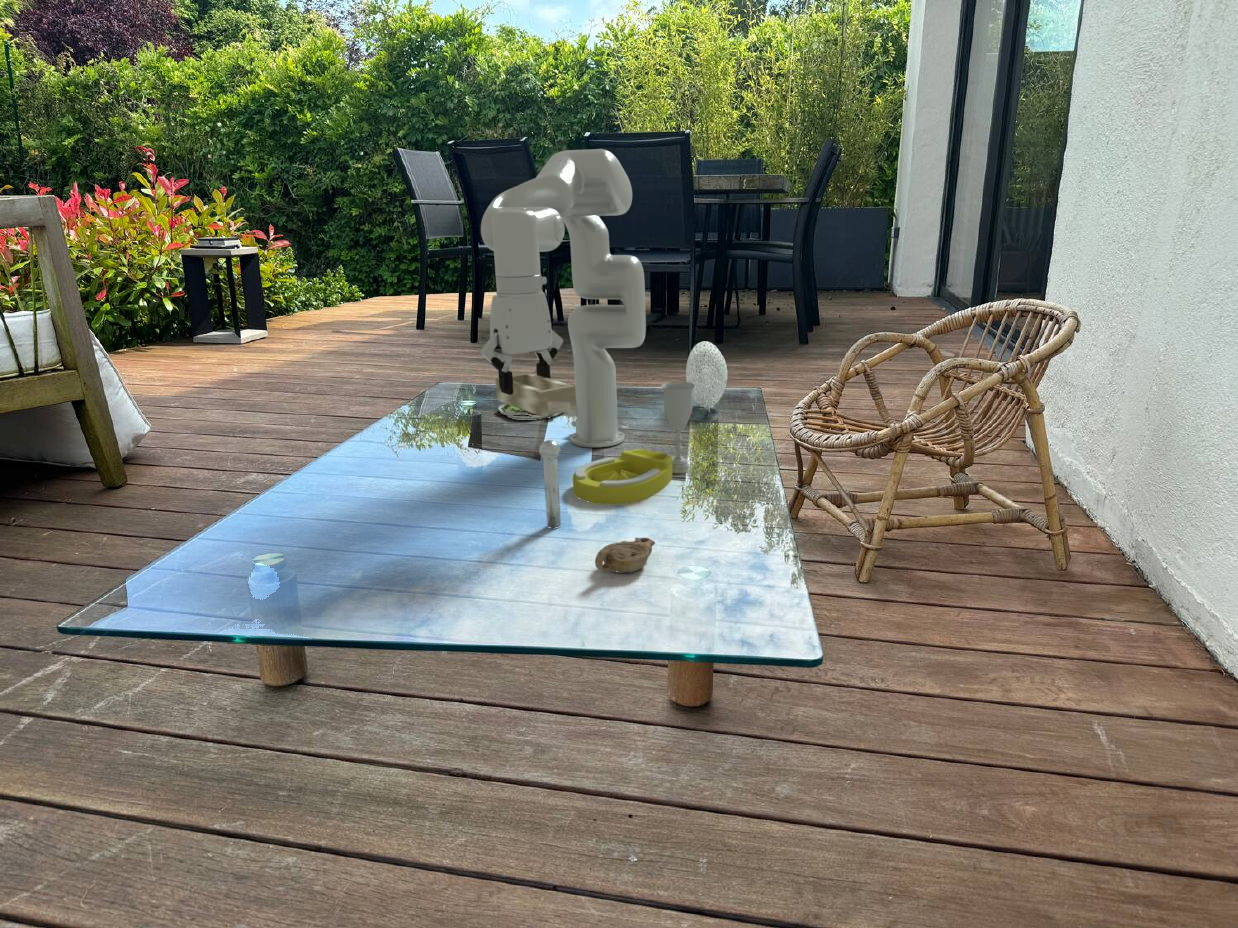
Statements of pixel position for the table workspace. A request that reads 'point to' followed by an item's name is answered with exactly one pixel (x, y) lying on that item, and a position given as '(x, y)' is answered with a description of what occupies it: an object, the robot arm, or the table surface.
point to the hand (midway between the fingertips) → (525, 389)
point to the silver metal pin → (551, 481)
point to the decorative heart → (706, 373)
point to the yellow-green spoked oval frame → (623, 477)
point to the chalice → (678, 416)
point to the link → (539, 394)
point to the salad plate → (514, 409)
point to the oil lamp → (624, 555)
